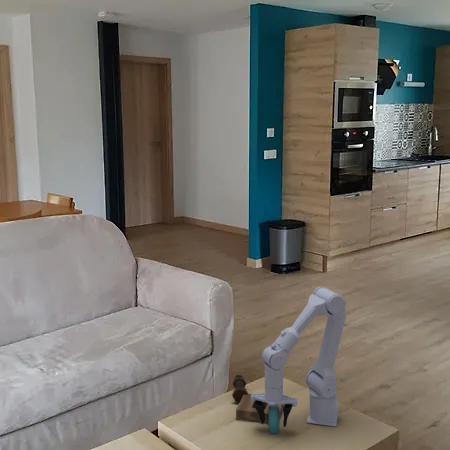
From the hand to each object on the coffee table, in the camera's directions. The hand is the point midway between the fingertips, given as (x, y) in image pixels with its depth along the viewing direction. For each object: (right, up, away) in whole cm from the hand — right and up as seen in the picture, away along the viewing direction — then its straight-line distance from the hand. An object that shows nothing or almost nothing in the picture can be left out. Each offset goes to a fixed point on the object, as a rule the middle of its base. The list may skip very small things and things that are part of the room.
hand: (273, 424), depth 189 cm
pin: (0, -2, 0) cm, 2 cm away
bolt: (-10, +3, +25) cm, 27 cm away
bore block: (-4, 0, +12) cm, 12 cm away
